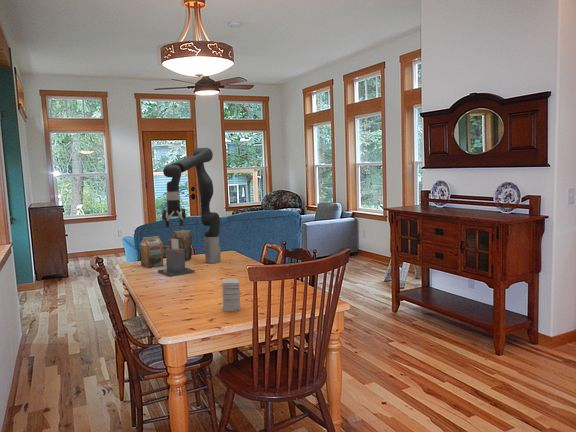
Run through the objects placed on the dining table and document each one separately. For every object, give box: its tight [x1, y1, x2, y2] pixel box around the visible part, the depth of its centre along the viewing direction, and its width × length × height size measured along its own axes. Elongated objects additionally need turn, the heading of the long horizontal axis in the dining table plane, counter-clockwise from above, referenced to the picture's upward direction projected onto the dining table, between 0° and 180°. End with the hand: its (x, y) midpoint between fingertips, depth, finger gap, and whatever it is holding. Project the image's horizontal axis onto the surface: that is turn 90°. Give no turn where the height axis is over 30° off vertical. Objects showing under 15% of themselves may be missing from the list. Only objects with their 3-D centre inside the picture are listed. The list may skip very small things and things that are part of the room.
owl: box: [171, 229, 193, 262], centre depth 330 cm, size 13×13×20 cm
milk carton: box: [139, 235, 164, 269], centre depth 308 cm, size 10×11×19 cm
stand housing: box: [157, 248, 196, 278], centre depth 286 cm, size 16×16×14 cm
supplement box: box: [221, 278, 241, 312], centre depth 209 cm, size 7×7×13 cm
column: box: [171, 239, 179, 250], centre depth 286 cm, size 3×3×18 cm
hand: (174, 226), depth 284 cm, fingers open, 8 cm apart
